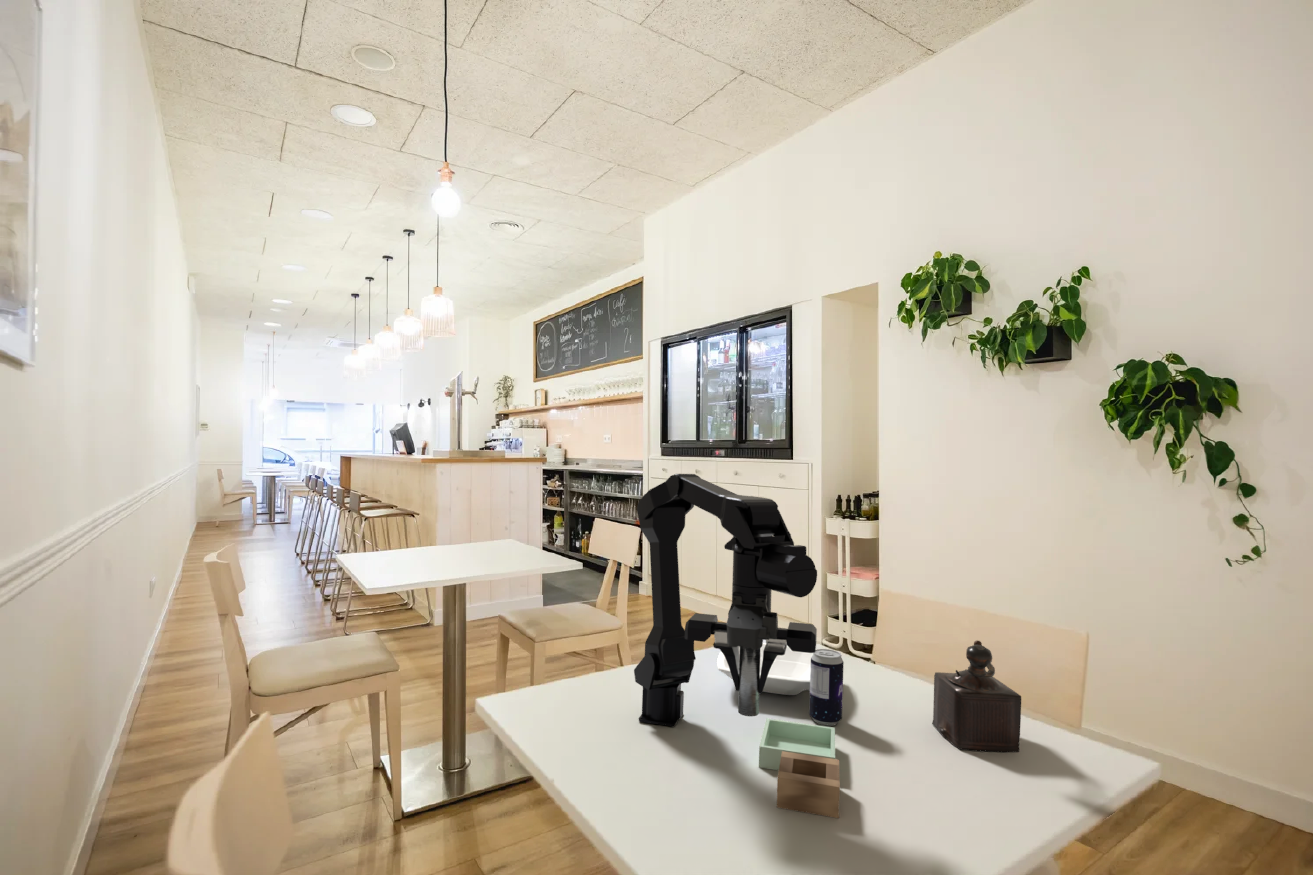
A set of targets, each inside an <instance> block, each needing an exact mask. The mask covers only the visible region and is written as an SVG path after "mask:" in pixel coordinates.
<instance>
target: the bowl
mask: <svg viewBox="0 0 1313 875" xmlns="http://www.w3.org/2000/svg"><path fill="white" fill-rule="evenodd" d="M765 646H766V642H763V644H762V647H761V648H760V675H761V668H762V661H763V651H764V648H765ZM816 650H817V648H816ZM812 655H813V653H806V652H796V651H792V650H791V649H790V648H789V647H788V646H787V648H786V651H785V654H784V655H777V657H776V658H775V660H774V662H773V664H772V666H771V668H770V671H769V673H768V676H767V679H766V682H765V685H764V688H763V691H762V693H770V694H777V695H785V696H786V695H787V696H797V695H799V694H800V693H802V692H803V691H808V692H810V668H811V657H812ZM739 659H740V646H739ZM716 665H717V670H718V671H720V672H721V673H722V674H724V675H725V676H727V677H728V678H730V679H731V680H733V679H732V675H731V672H730V669H729V666H728V663H727V661H726V658H725V656H724V654H723V653H722V652H721V651H720V652H719V654H718V656H717V659H716Z"/></svg>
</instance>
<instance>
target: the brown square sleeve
mask: <svg viewBox="0 0 1313 875" xmlns="http://www.w3.org/2000/svg"><path fill="white" fill-rule="evenodd" d="M777 773H778V774H777V779H776V780H777V783H776V787H777V788H776V808H777V809H783V810H784V809H785V810H790V811H794V812H795V811H796V812H800V813H807V814H813V815H819V816H824V817H830V818H835V819H839V818H840V791H841V790H840V789H841V785H840V782H841V781H840V780H841V779H840V777H841V776H840V760H839V759H837V758H835V759H830V758H824V757H817V756H811V755H804V754H797V753H791V752H784V751H782V754H781V760H780V766H779V770H778V772H777Z"/></svg>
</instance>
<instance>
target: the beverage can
mask: <svg viewBox="0 0 1313 875" xmlns="http://www.w3.org/2000/svg"><path fill="white" fill-rule="evenodd" d="M816 649H817V648H816ZM844 664H845V662H844V660H843V658H842V653H841V652H839V651H837V650H834V649H826V648H818V649H817V650H816V651H815V653H813V655H812V657H811V668H810V691H809V708H808V714H809V716H810V717H811V718H812V720H813V721H814V722H815V723H816V724H818V725H820V726H826V727H831V726H836V725H837V724H838V723H839V722H840V721H842V718H843V694H844Z"/></svg>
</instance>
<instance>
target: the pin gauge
mask: <svg viewBox="0 0 1313 875" xmlns="http://www.w3.org/2000/svg"><path fill="white" fill-rule="evenodd" d="M759 681H760V648H759V649H751V648H749V647H741V646H740V659H739V691H738V697H737V698H738V699H737V701H738V702H737V703H738V704H737V706H738V707H737V709H738V710H737V711H738V714H740V715H741V716H745V717H757V716H758V715H760V714H759V713H760V693H759Z"/></svg>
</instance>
